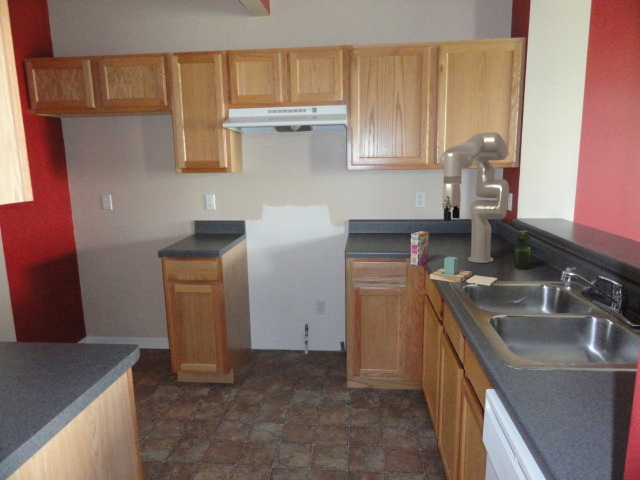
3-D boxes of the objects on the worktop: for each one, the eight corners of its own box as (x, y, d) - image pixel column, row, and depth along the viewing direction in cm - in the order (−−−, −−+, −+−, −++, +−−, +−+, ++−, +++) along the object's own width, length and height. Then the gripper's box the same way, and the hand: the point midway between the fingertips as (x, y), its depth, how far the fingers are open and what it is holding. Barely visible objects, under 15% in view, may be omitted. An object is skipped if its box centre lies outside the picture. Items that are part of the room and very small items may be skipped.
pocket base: (442, 272, 209) (442, 268, 209) (471, 275, 201) (471, 271, 200) (429, 278, 198) (429, 274, 198) (460, 282, 190) (460, 278, 189)
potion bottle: (533, 270, 207) (535, 232, 204) (514, 270, 208) (516, 232, 205) (528, 266, 215) (529, 229, 212) (510, 266, 216) (512, 230, 213)
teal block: (448, 275, 203) (448, 256, 201) (457, 276, 200) (457, 257, 198) (444, 277, 199) (444, 258, 198) (453, 279, 196) (454, 259, 195)
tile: (474, 277, 198) (474, 275, 198) (497, 280, 192) (497, 278, 191) (466, 282, 190) (466, 280, 190) (490, 285, 184) (490, 283, 184)
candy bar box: (419, 266, 222) (419, 234, 219) (410, 265, 225) (410, 233, 223) (428, 262, 231) (429, 231, 228) (420, 261, 234) (420, 230, 231)
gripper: (451, 179, 201) (451, 217, 204) (436, 181, 188) (435, 221, 191) (468, 179, 197) (467, 217, 199) (453, 181, 183) (452, 222, 186)
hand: (451, 219), depth 195 cm, fingers open, 9 cm apart
